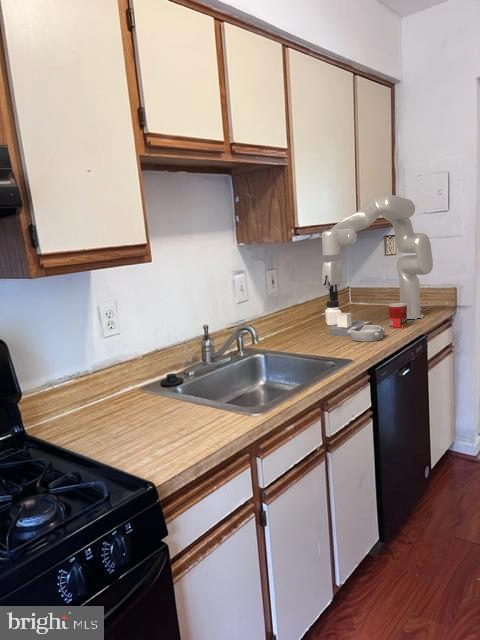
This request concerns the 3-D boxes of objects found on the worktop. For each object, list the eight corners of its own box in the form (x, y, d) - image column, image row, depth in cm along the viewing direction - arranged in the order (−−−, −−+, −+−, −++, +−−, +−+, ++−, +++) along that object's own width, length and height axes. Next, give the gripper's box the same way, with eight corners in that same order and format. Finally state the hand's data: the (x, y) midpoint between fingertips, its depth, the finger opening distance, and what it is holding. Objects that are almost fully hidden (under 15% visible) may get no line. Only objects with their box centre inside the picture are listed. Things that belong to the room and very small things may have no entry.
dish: (344, 341, 206) (343, 330, 205) (361, 334, 215) (360, 323, 215) (374, 344, 196) (374, 332, 195) (390, 337, 205) (390, 326, 204)
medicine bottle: (342, 324, 240) (340, 301, 238) (328, 325, 241) (326, 302, 239) (339, 321, 247) (338, 299, 245) (325, 322, 248) (324, 300, 246)
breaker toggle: (342, 325, 221) (341, 312, 220) (351, 325, 218) (350, 313, 217) (337, 326, 219) (336, 314, 217) (347, 327, 215) (346, 314, 214)
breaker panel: (350, 325, 235) (349, 319, 234) (372, 327, 227) (372, 321, 226) (329, 334, 220) (328, 328, 219) (352, 336, 212) (352, 329, 212)
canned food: (404, 329, 217) (403, 305, 215) (387, 328, 222) (386, 305, 220) (409, 325, 223) (408, 302, 221) (392, 325, 228) (392, 302, 226)
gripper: (333, 257, 215) (335, 297, 218) (315, 261, 204) (317, 303, 207) (347, 257, 210) (349, 298, 213) (330, 260, 199) (332, 303, 202)
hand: (333, 300), depth 210 cm, fingers closed
